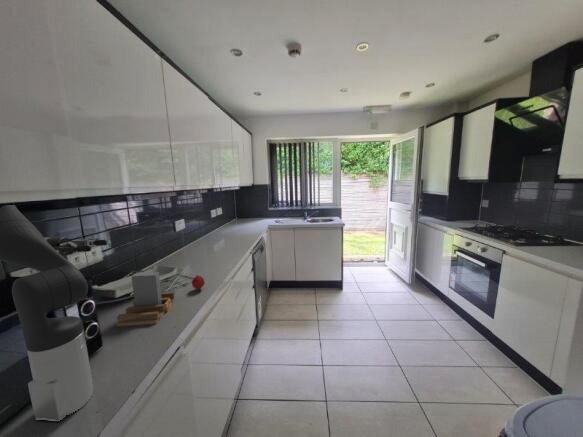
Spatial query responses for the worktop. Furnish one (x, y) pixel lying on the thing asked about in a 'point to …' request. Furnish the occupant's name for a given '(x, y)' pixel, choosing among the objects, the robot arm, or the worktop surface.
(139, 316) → the rack
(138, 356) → the worktop surface
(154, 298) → the panel
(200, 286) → the onion
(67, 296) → the robot arm
